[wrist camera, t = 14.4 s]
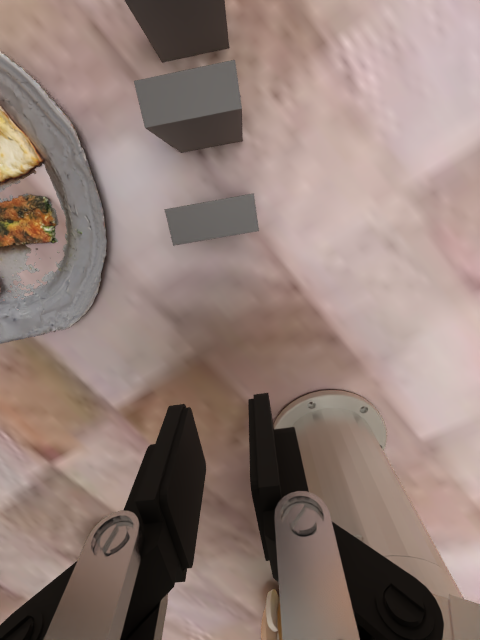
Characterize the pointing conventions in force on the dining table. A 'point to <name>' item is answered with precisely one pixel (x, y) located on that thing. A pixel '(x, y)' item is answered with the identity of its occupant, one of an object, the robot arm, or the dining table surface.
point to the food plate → (44, 211)
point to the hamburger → (272, 618)
